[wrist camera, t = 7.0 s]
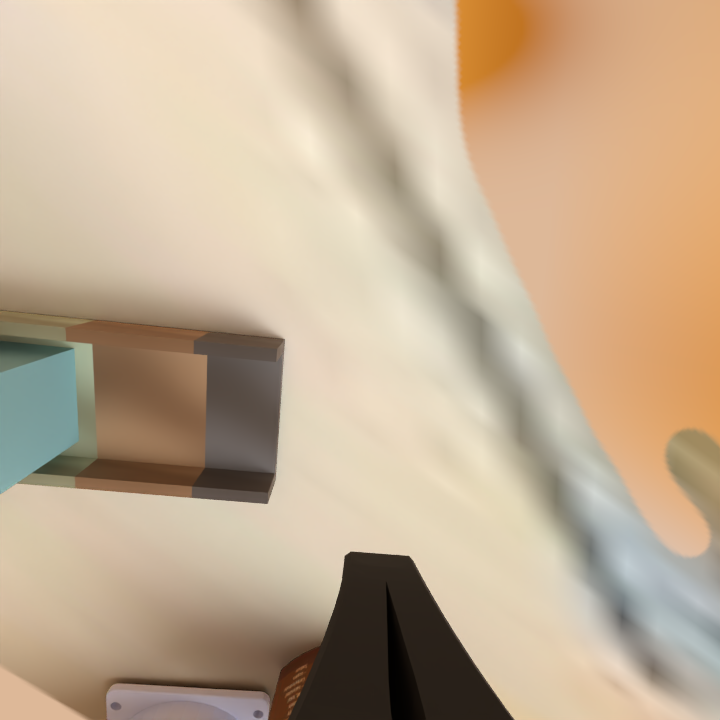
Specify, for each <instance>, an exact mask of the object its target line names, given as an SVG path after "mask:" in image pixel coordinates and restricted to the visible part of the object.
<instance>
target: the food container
mask: <svg viewBox="0 0 720 720" xmlns="http://www.w3.org/2000/svg"><path fill="white" fill-rule="evenodd" d="M319 649H320V647H317V648H314V649H312V650H310V651H308V652H306V653H304V654H302V655H300V656H299V657H297V658H296V659H294V660H292V661H291V662H290V663H289V664H288V665H287V666H285V667H284V668H283V669H282V670H281V672H280V676H279V680H278V683H277V687H276V691H275V695H274V698H273V702H272V706H271V710H270V713H269V717H268V720H288V718H289V716H290V714H291V712H292V710H293V708H294V706H295V703H296V701H297V699H298V697H299V695H300V693H301V691H302V688H303V686H304V684H305V681H306V679H307V677H308V674H309V672H310V670H311V667H312V665H313V663H314V660H315V658H316V656H317V653H318V651H319Z"/></svg>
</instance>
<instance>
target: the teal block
mask: <svg viewBox="0 0 720 720" xmlns="http://www.w3.org/2000/svg"><path fill="white" fill-rule="evenodd" d="M78 441H79V431H78V411H77V391H76V371H75V351H74V348H66V347H56V346H47V345H37V344H28V343H18V342H9V341H0V494H1V493H3V492H4V491H6V490H7V489H9V488H10V487H12V486H13V485H15V484H16V483H18V482H19V481H21V480H22V479H24V478H25V477H27V476H28V475H29V474H31V473H32V472H34V471H35V470H37V469H38V468H40V467H41V466H43V465H44V464H46V463H47V462H49V461H50V460H52V459H53V458H55V457H56V456H58V455H59V454H61V453H62V452H63V451H65V450H66V449H68V448H69V447H71V446H72V445H74V444H75V443H77V442H78Z"/></svg>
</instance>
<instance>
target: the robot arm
mask: <svg viewBox="0 0 720 720" xmlns="http://www.w3.org/2000/svg"><path fill="white" fill-rule="evenodd" d="M269 707H270V697H269V696H268V694H266V693H265V692H260V691H243V690H226V689H209V688H192V687H175V686H158V685H141V684H124V683H117V684H114V685H112V686H111V687H110V688H109V690H108V692H107V694H106V712H107V720H268V717H269ZM288 720H514V719H513V717H512V716H511V715H510V713H509V712H508V711H507V709H506V708H505V707H504V705H503V704H502V702H501V701H500V699H499V698H498V697H497V695H496V694H495V692H494V691H493V690H492V688H491V687H490V685H489V684H488V683H487V681H486V680H485V678H484V677H483V675H482V674H481V672H480V671H479V669H478V668H477V667H476V665H475V664H474V662H473V661H472V659H471V658H470V656H469V654H468V653H467V651H466V650H465V648H464V647H463V645H462V644H461V642H460V640H459V639H458V637H457V636H456V634H455V633H454V631H453V630H452V628H451V626H450V625H449V623H448V621H447V620H446V618H445V617H444V615H443V613H442V612H441V610H440V608H439V606H438V605H437V603H436V601H435V600H434V598H433V596H432V595H431V593H430V591H429V589H428V587H427V586H426V584H425V582H424V580H423V578H422V577H421V575H420V573H419V571H418V569H417V567H416V565H415V563H414V561H413V560H412V559H411V558H410V557H409V556H402V555H389V554H375V553H362V552H350V553H348V554H347V555H346V556H345V559H344V568H343V576H342V583H341V587H340V591H339V594H338V598H337V601H336V604H335V608H334V610H333V613H332V616H331V619H330V622H329V625H328V627H327V630H326V633H325V636H324V639H323V641H322V644H321V646H320V649H319V651H318V653H317V656H316V658H315V660H314V663H313V665H312V667H311V670H310V672H309V674H308V677H307V679H306V681H305V684H304V686H303V688H302V691H301V693H300V695H299V697H298V699H297V701H296V703H295V706H294V708H293V710H292V712H291V714H290V716H289V718H288Z"/></svg>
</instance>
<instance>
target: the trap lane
mask: <svg viewBox="0 0 720 720" xmlns="http://www.w3.org/2000/svg"><path fill="white" fill-rule="evenodd" d="M0 341H9V342H18V343H28V344H37V345H47V346H56V347H66V348H74V351H75V371H76V391H77V411H78V431H79V441H78V442H77V443H75V444H74V445H72V446H71V447H69V448H68V449H66V450H65V451H63V452H62V453H61V454H59V455H58V456H56V457H55V458H53V459H52V460H50V461H49V462H47V463H46V464H44V465H43V466H41V467H40V468H38V469H37V470H35V471H34V472H32V473H31V474H29V475H28V476H27V477H25V478H24V479H22V480H21V481H19V482H18V484H30V485H42V486H54V487H67V488H79V489H91V490H103V491H116V492H128V493H140V494H152V495H165V496H177V497H189V498H201V499H214V500H226V501H238V502H250V503H263V504H268V501H269V498H270V495H271V492H272V489H273V486H274V483H275V479H276V464H277V449H278V434H279V419H280V404H281V389H282V374H283V359H284V344H285V339H276V338H266V337H256V336H246V335H236V334H226V333H217V332H207V331H197V330H187V329H177V328H167V327H158V326H148V325H138V324H128V323H118V322H108V321H98V320H89V319H79V318H69V317H59V316H49V315H39V314H30V313H20V312H10V311H0Z"/></svg>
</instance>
